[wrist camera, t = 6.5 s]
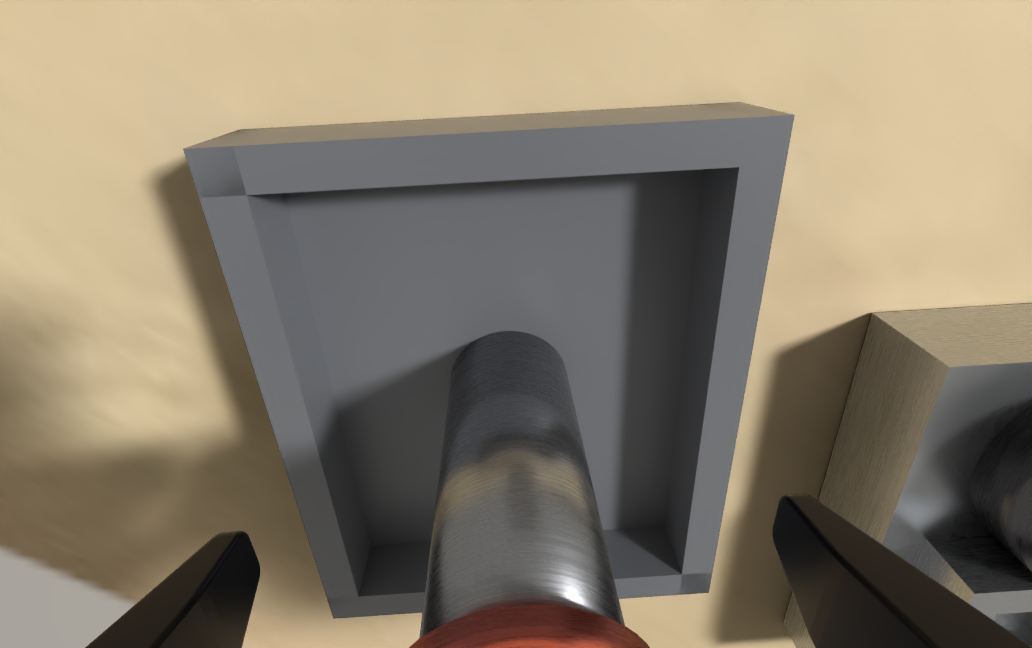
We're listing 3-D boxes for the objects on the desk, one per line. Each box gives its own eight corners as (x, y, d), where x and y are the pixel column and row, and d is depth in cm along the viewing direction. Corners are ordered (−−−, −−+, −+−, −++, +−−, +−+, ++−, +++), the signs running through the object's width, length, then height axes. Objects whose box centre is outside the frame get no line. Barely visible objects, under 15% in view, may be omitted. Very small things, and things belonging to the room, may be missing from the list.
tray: (682, 527, 16) (708, 592, 14) (352, 549, 16) (333, 618, 14) (739, 102, 11) (794, 114, 9) (239, 129, 11) (183, 149, 9)
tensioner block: (1009, 606, 19) (1157, 765, 15) (783, 622, 19) (866, 787, 15) (1192, 293, 13) (1510, 406, 9) (872, 312, 13) (1047, 436, 9)
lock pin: (578, 433, 14) (672, 845, 7) (446, 442, 14) (398, 867, 7) (580, 314, 12) (703, 690, 5) (429, 324, 12) (344, 715, 5)
